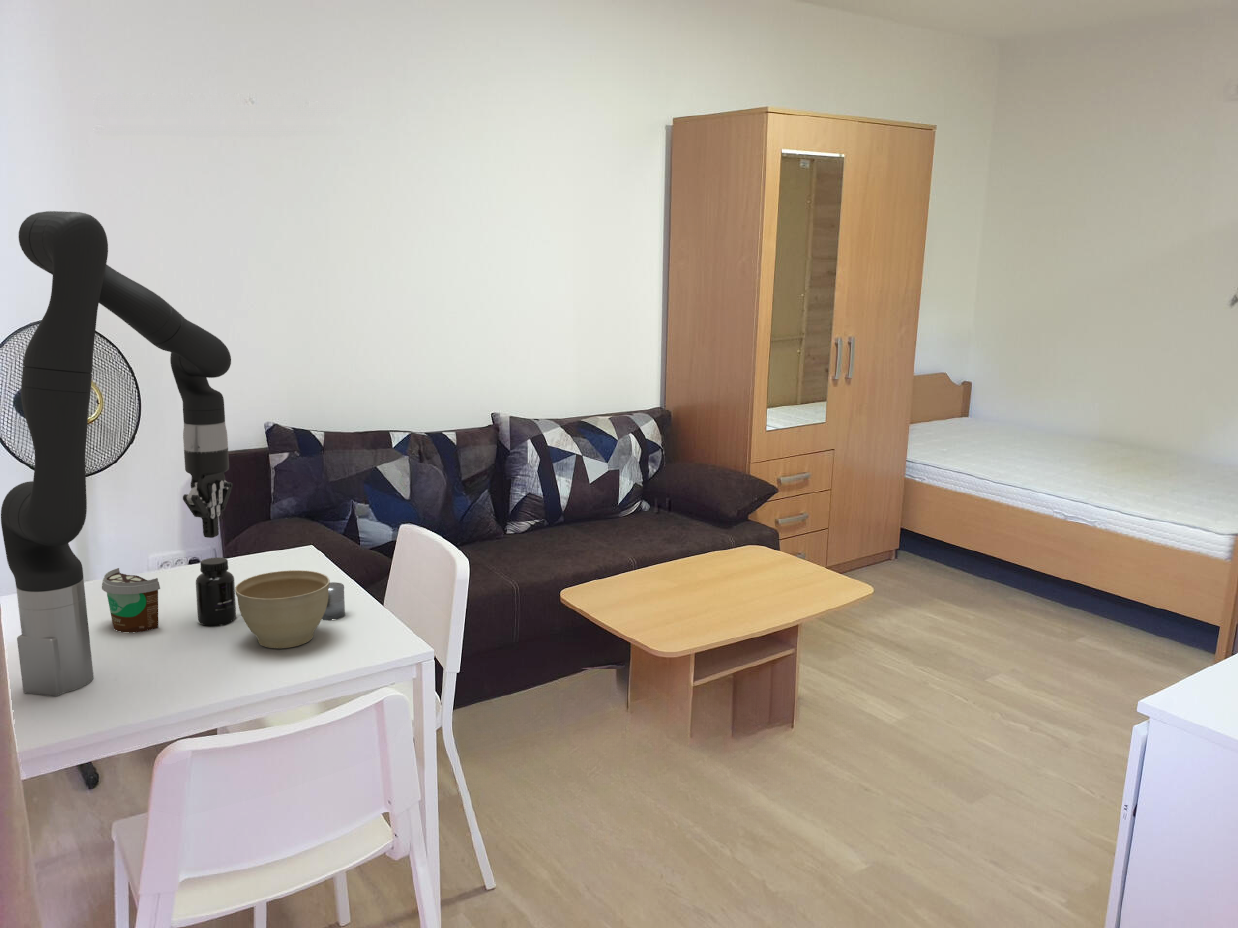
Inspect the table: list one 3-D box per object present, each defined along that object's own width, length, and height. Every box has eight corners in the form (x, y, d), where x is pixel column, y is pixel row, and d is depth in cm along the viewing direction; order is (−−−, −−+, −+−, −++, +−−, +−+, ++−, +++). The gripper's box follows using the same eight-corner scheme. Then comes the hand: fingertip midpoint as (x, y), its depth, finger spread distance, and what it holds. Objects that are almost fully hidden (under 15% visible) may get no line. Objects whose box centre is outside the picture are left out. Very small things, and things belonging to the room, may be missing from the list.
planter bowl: (348, 628, 177) (346, 574, 174) (298, 662, 161) (295, 603, 159) (275, 618, 181) (272, 565, 179) (219, 650, 166) (215, 592, 163)
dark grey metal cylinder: (338, 621, 180) (336, 591, 179) (313, 619, 181) (312, 589, 180) (349, 611, 185) (348, 583, 184) (325, 610, 186) (324, 581, 185)
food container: (91, 626, 175) (85, 576, 173) (121, 616, 180) (116, 567, 178) (133, 640, 169) (128, 588, 167) (163, 629, 174) (159, 578, 172)
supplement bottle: (227, 627, 176) (223, 567, 173) (191, 626, 176) (187, 565, 174) (242, 614, 183) (238, 555, 180) (208, 613, 183) (203, 554, 180)
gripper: (203, 454, 165) (209, 547, 169) (244, 441, 178) (248, 528, 182) (165, 451, 167) (171, 544, 170) (208, 439, 179) (213, 526, 183)
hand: (211, 536), depth 176 cm, fingers closed
